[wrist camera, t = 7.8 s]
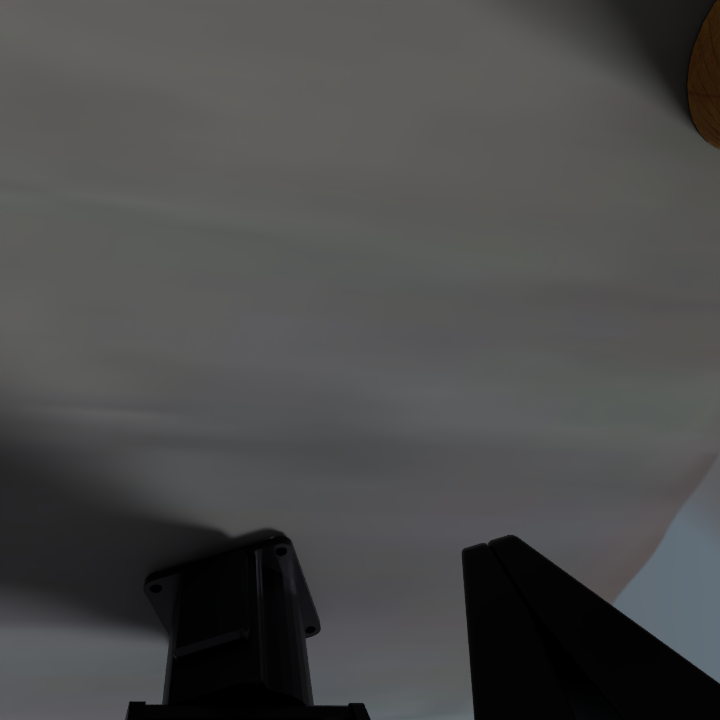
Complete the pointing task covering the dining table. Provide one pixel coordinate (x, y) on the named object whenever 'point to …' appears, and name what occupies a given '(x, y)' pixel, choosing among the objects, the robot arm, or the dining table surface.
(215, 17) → the dining table surface
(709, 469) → the dining table surface
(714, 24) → the disposable coffee cup
